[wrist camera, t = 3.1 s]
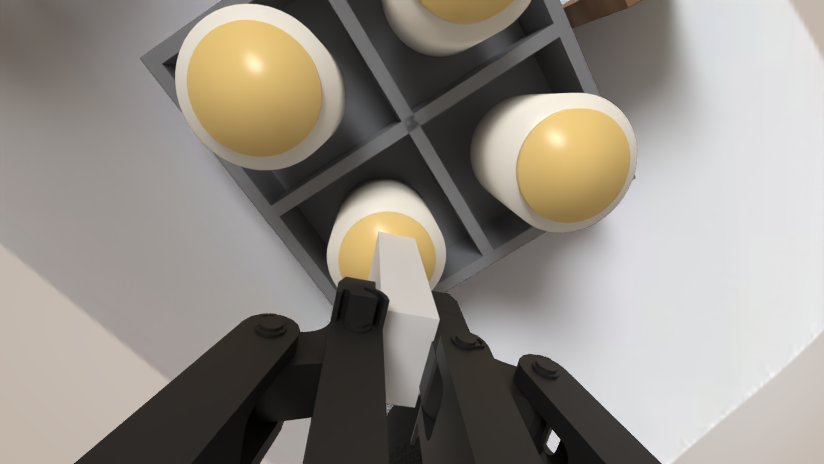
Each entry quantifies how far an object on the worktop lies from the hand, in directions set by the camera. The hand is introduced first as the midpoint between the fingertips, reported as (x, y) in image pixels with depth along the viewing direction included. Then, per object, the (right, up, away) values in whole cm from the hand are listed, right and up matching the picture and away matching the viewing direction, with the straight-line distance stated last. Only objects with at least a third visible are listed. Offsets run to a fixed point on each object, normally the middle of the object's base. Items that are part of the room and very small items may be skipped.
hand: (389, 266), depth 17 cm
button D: (+6, +5, +3) cm, 9 cm away
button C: (-1, +2, +5) cm, 6 cm away
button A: (-4, +7, +1) cm, 9 cm away
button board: (0, +8, +6) cm, 10 cm away
